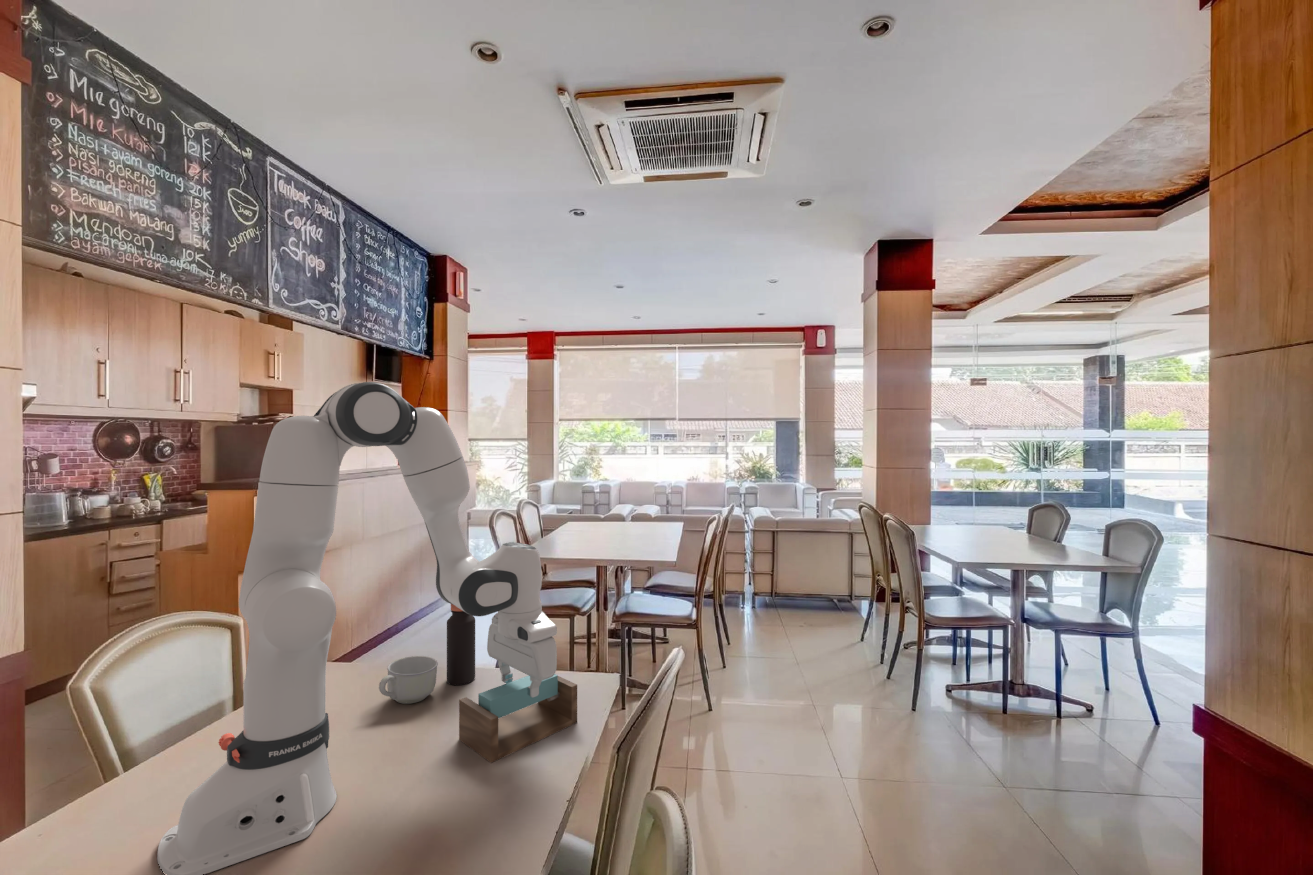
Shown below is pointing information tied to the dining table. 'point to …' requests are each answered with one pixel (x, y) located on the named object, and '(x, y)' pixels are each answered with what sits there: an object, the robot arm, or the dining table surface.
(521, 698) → the shelf board
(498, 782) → the dining table surface
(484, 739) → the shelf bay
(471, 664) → the bottle
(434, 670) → the teacup
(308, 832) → the robot arm
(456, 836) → the dining table surface
